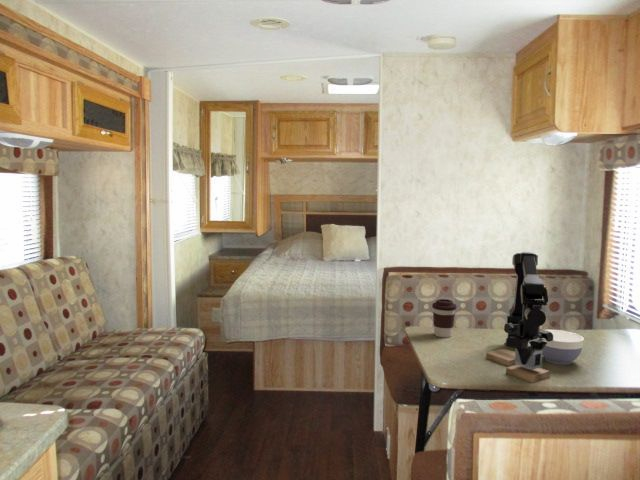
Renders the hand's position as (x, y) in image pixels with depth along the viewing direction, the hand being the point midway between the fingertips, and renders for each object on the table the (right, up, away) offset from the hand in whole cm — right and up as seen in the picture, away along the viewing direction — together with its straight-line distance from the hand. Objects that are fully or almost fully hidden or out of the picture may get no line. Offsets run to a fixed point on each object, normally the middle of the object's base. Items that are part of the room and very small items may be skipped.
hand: (528, 363), depth 190 cm
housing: (0, -1, 0) cm, 1 cm away
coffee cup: (-19, +1, +45) cm, 49 cm away
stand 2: (0, -4, 0) cm, 4 cm away
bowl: (+17, -3, +16) cm, 24 cm away
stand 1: (-2, -2, +16) cm, 16 cm away
